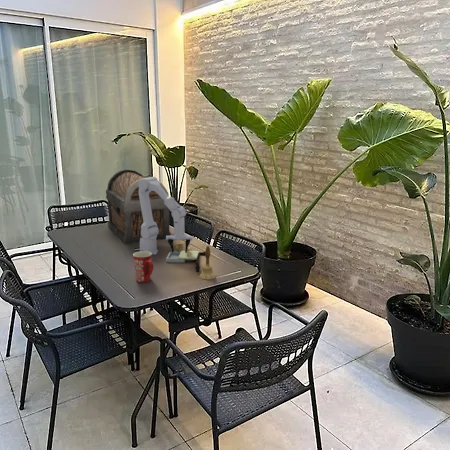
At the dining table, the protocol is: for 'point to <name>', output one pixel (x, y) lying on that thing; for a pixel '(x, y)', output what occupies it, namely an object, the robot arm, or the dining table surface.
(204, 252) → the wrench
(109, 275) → the dining table surface
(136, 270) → the mug
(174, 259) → the shallow grey tray
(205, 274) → the hand bell
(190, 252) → the lid
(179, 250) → the wooden block
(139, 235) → the treasure chest
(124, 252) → the dining table surface
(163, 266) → the dining table surface
